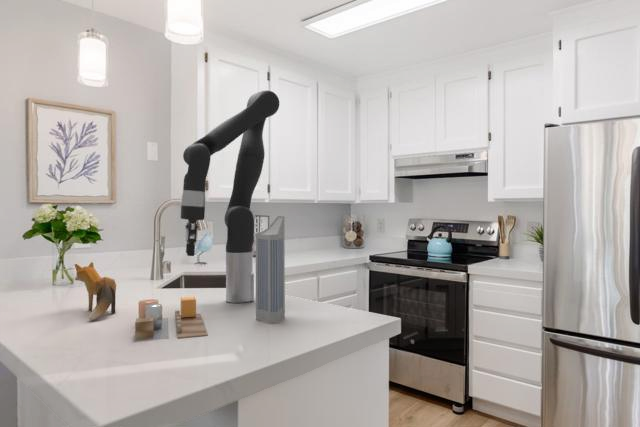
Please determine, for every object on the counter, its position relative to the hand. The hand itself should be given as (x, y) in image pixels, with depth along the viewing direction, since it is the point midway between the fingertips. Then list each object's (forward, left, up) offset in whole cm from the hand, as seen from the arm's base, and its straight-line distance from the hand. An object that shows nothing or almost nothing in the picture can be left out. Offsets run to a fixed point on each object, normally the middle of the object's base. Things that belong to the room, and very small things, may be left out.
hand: (189, 254), depth 142 cm
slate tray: (+11, +28, -17) cm, 34 cm away
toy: (+28, 0, -18) cm, 33 cm away
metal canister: (+11, +28, -16) cm, 34 cm away
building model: (-21, +25, -18) cm, 37 cm away
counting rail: (+2, +28, -17) cm, 33 cm away
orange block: (+2, +19, -16) cm, 24 cm away
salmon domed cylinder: (+12, +22, -16) cm, 29 cm away
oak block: (+13, +34, -16) cm, 40 cm away
